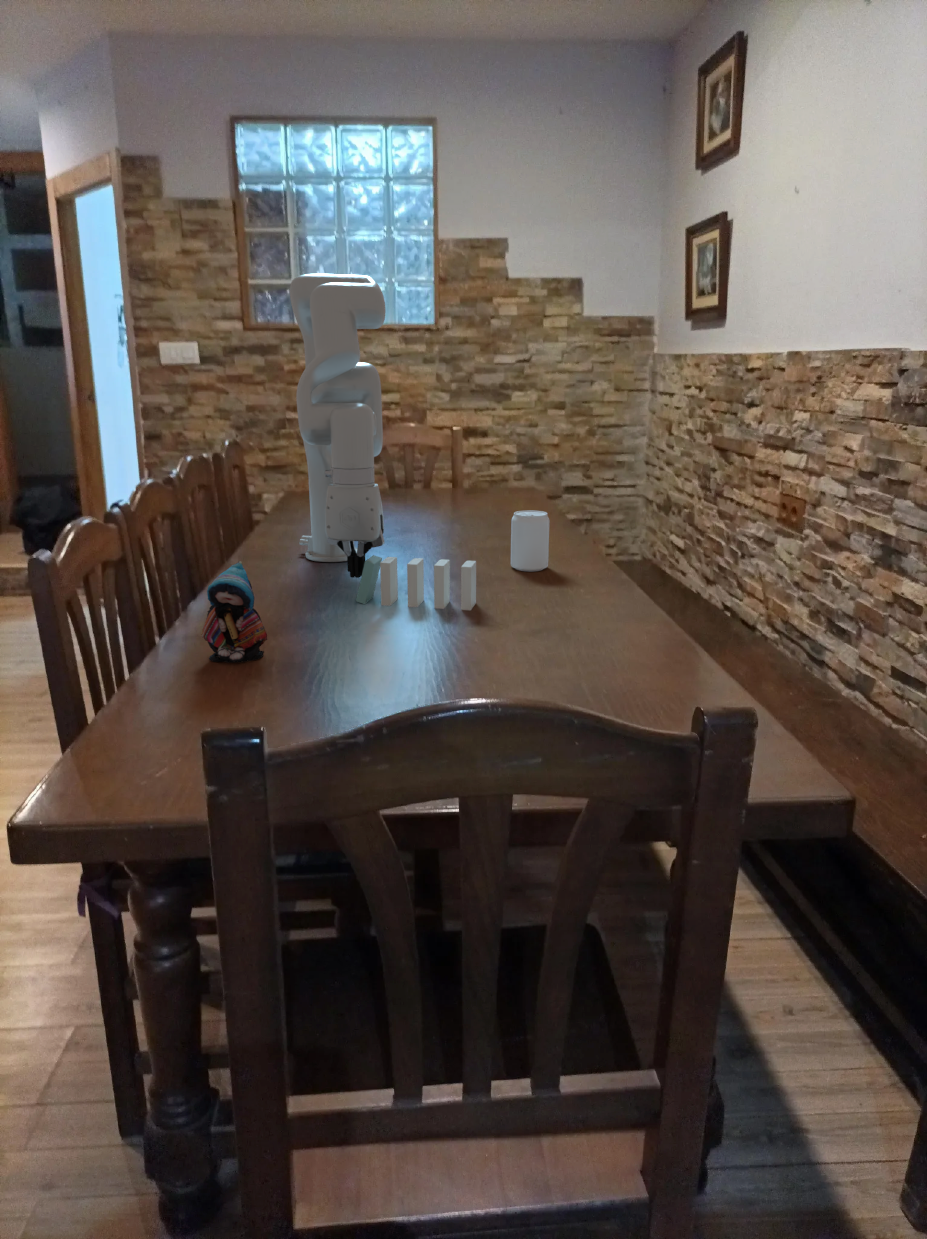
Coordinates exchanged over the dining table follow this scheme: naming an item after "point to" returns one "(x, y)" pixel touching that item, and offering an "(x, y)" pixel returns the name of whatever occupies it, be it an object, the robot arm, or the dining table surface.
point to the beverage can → (529, 540)
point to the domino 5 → (468, 585)
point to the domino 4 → (441, 583)
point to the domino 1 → (368, 579)
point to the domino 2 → (389, 581)
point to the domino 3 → (415, 582)
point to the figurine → (233, 618)
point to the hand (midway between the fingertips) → (356, 575)
